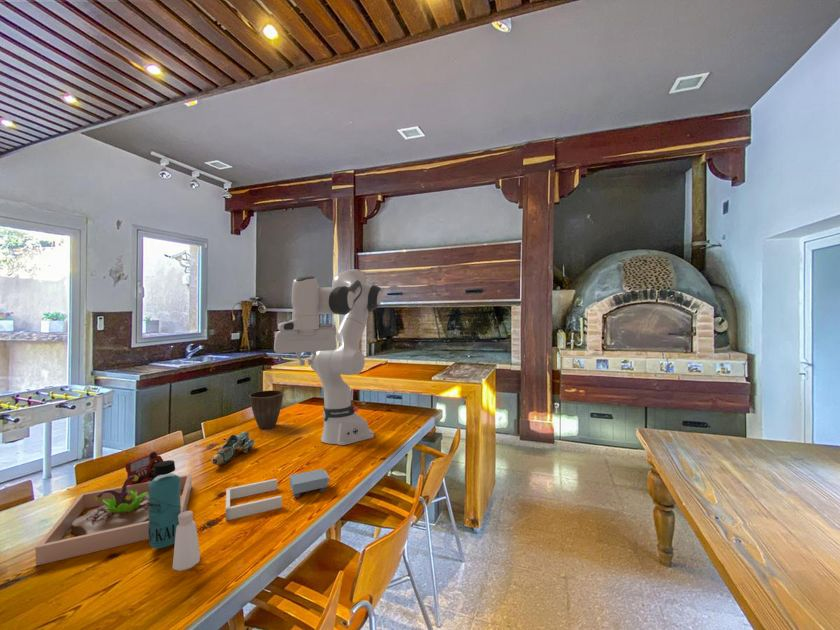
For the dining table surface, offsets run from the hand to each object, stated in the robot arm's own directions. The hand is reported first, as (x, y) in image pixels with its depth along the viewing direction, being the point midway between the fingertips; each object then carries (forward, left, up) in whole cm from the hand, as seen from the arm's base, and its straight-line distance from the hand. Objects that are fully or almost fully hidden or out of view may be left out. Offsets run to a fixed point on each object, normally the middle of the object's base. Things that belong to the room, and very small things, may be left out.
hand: (306, 365), depth 125 cm
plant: (+48, +4, -38) cm, 62 cm away
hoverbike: (+23, -30, -38) cm, 53 cm away
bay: (+17, +12, -37) cm, 43 cm away
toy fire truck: (+47, -15, -37) cm, 62 cm away
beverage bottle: (+37, +24, -37) cm, 58 cm away
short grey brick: (+2, +12, -37) cm, 39 cm away
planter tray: (+48, +5, -37) cm, 61 cm away
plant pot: (+8, -63, -37) cm, 74 cm away
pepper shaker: (+32, +33, -37) cm, 59 cm away
